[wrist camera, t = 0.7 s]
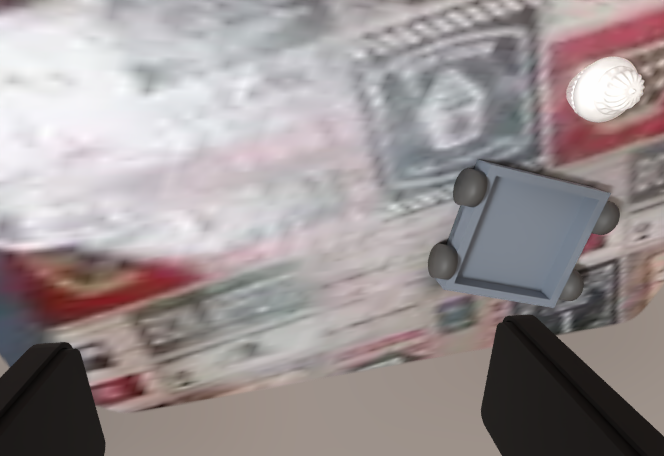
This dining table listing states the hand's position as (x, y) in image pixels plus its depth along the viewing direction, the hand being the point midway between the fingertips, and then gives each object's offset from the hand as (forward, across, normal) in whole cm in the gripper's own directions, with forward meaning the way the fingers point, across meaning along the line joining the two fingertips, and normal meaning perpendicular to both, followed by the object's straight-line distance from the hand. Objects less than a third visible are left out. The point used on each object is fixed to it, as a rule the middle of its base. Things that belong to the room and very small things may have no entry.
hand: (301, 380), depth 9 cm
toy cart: (+33, -26, +10) cm, 43 cm away
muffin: (+33, -31, -6) cm, 46 cm away
